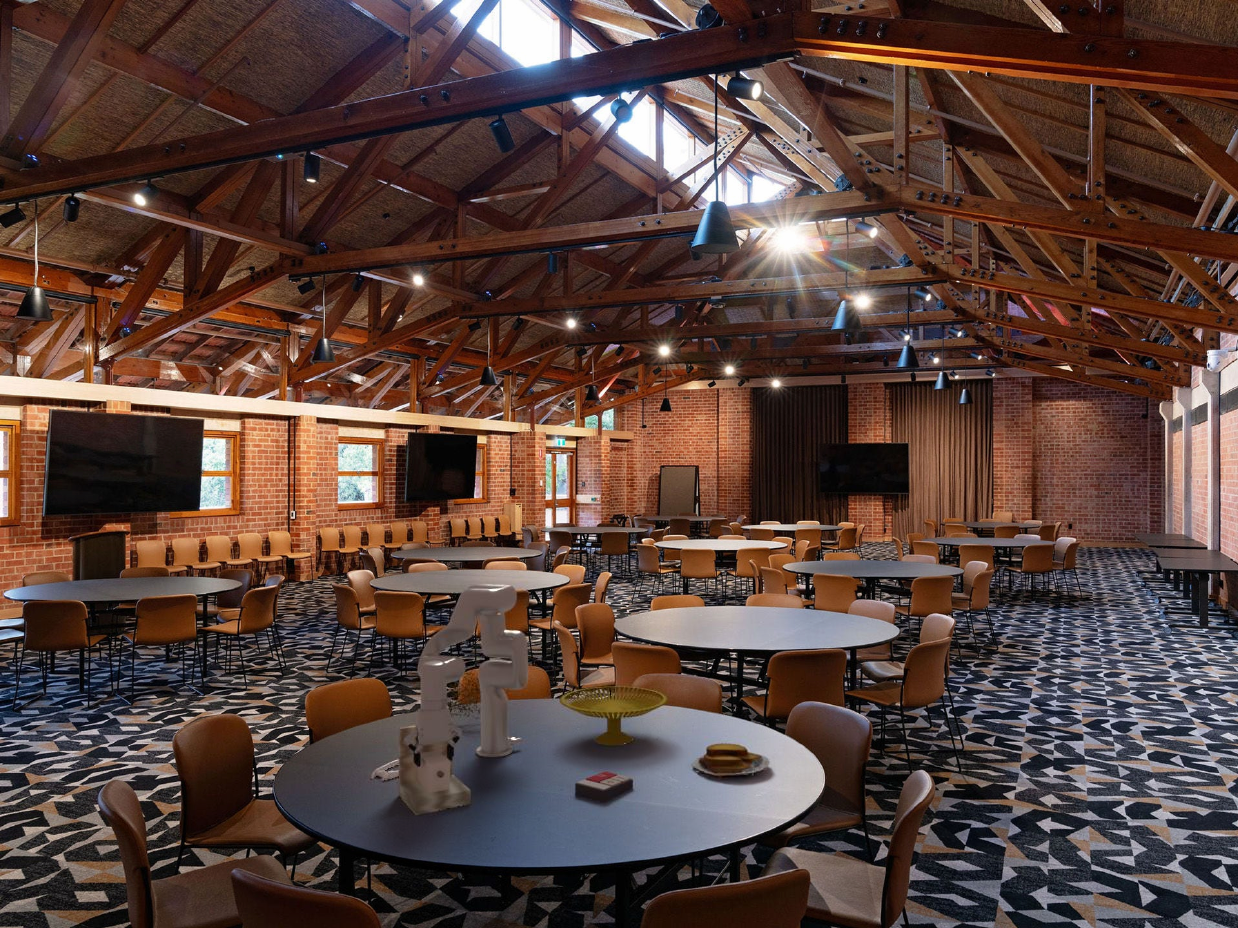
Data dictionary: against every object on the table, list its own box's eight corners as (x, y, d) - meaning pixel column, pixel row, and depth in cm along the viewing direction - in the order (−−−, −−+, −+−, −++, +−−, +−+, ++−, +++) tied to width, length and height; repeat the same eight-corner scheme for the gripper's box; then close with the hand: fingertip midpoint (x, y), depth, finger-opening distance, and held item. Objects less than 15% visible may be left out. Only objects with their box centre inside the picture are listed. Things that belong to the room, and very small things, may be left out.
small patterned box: (633, 776, 246) (604, 788, 234) (633, 791, 245) (603, 803, 233) (605, 769, 252) (574, 780, 240) (604, 783, 252) (574, 795, 240)
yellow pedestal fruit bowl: (644, 720, 321) (643, 682, 322) (687, 749, 283) (687, 705, 284) (546, 730, 307) (546, 690, 307) (578, 762, 269) (578, 717, 270)
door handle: (442, 760, 273) (388, 783, 251) (419, 756, 278) (365, 778, 256) (442, 752, 273) (388, 774, 251) (419, 748, 278) (365, 770, 256)
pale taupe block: (436, 776, 244) (437, 750, 245) (451, 790, 233) (451, 762, 233) (417, 780, 241) (417, 753, 242) (430, 794, 230) (430, 765, 230)
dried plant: (404, 686, 304) (512, 637, 304) (429, 676, 335) (527, 631, 335) (434, 763, 300) (544, 713, 299) (456, 745, 331) (556, 700, 330)
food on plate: (728, 788, 245) (727, 766, 245) (676, 767, 266) (676, 746, 266) (786, 772, 260) (786, 751, 260) (734, 752, 280) (733, 733, 280)
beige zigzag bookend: (450, 785, 248) (450, 719, 249) (470, 804, 233) (470, 733, 234) (398, 795, 240) (399, 727, 241) (415, 815, 225) (416, 742, 226)
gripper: (457, 697, 246) (457, 753, 246) (401, 705, 237) (401, 763, 237) (466, 702, 240) (466, 760, 239) (408, 711, 231) (408, 771, 231)
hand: (433, 762), depth 238 cm, fingers open, 9 cm apart
